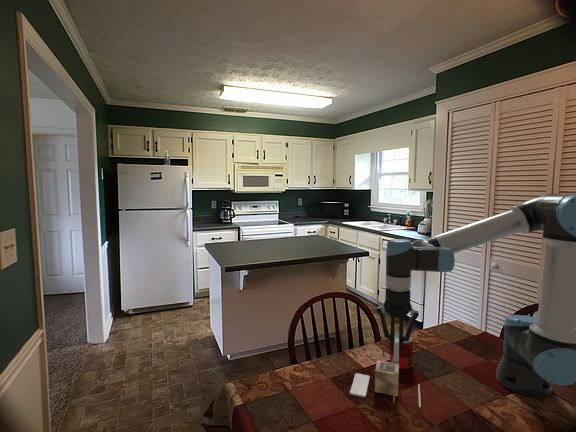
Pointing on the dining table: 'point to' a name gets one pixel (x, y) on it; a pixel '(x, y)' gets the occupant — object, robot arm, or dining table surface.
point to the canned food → (404, 353)
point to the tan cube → (386, 378)
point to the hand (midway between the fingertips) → (396, 359)
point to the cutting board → (362, 383)
